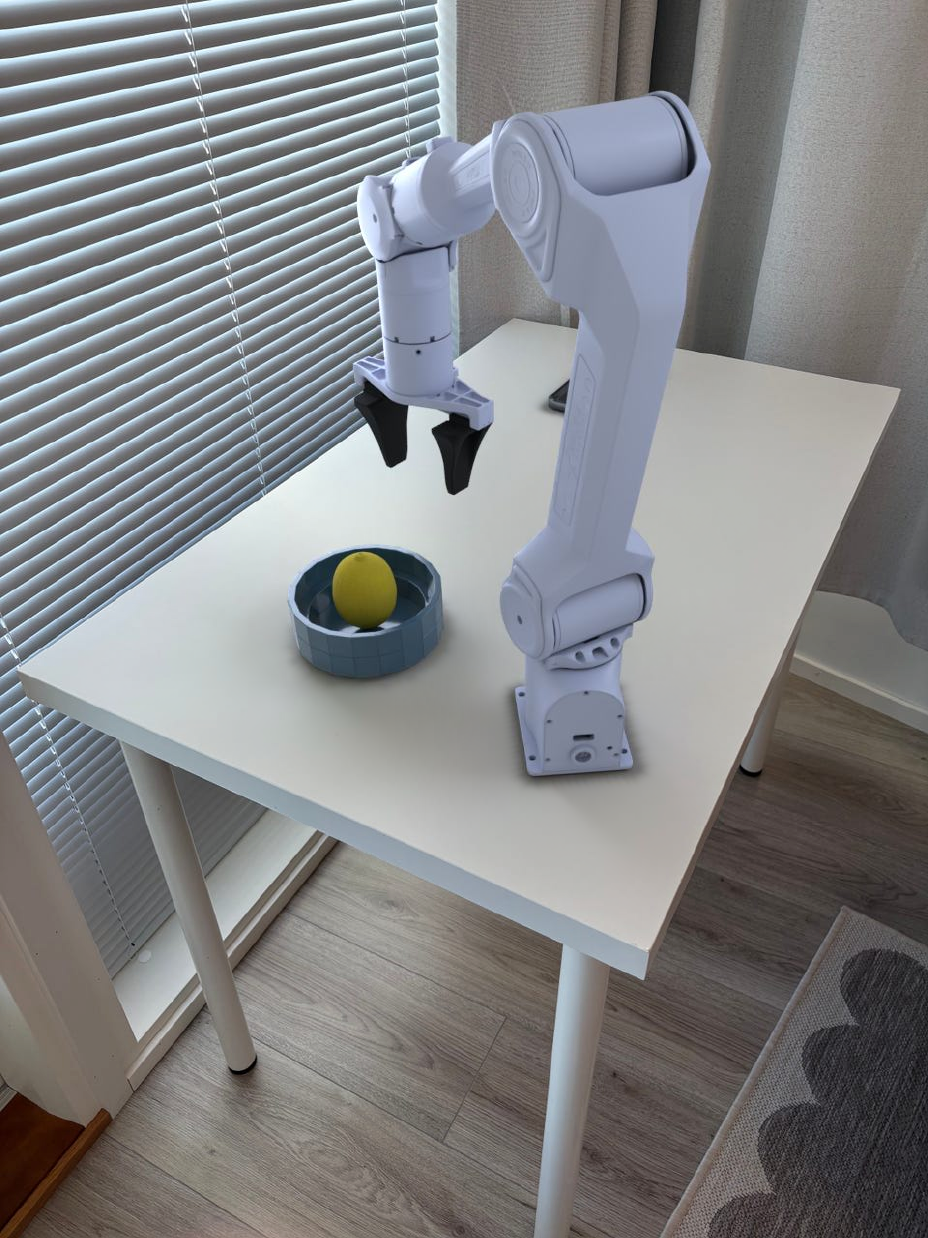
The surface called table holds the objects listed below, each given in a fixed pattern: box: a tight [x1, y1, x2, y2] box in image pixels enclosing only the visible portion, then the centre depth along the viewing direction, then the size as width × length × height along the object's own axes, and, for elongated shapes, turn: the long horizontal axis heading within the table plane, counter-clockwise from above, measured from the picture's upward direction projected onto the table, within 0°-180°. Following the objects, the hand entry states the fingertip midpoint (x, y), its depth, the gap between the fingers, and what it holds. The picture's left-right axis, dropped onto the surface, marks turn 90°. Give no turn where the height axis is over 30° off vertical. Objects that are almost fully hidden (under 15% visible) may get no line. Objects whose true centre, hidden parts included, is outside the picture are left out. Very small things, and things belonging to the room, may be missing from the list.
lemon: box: [333, 552, 397, 629], centre depth 82 cm, size 6×6×8 cm
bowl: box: [287, 543, 445, 678], centre depth 84 cm, size 13×13×5 cm
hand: (426, 476), depth 86 cm, fingers open, 7 cm apart
